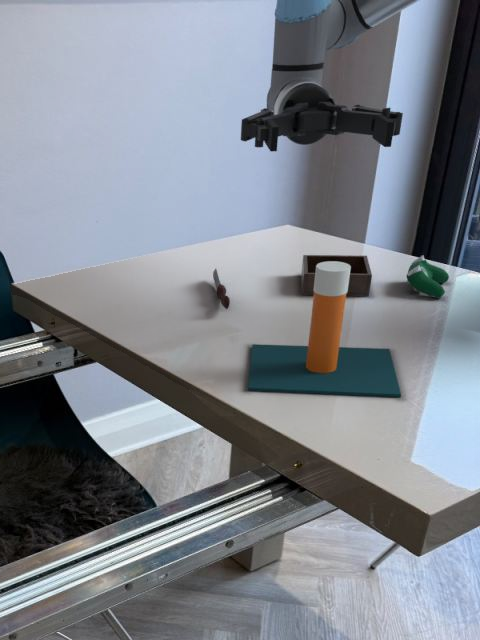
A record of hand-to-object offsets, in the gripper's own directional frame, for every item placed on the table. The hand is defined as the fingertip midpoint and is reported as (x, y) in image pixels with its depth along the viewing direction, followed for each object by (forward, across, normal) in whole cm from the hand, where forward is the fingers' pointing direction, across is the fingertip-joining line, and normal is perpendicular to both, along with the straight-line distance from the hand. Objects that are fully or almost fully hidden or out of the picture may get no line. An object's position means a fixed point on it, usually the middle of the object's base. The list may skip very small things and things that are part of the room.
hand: (331, 137), depth 94 cm
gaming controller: (-21, -21, -26) cm, 40 cm away
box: (-24, -8, -26) cm, 36 cm away
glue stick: (+10, 0, -26) cm, 27 cm away
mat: (+10, 0, -26) cm, 28 cm away
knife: (-19, +11, -26) cm, 34 cm away
